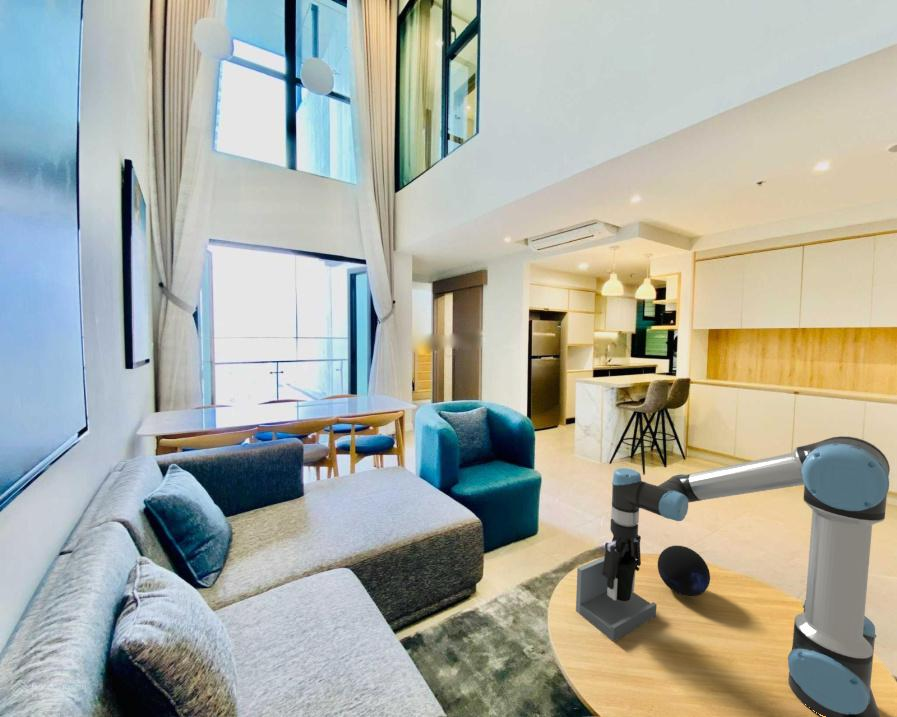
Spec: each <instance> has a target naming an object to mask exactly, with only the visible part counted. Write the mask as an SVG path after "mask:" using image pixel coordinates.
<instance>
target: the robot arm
mask: <svg viewBox="0 0 897 717" xmlns="http://www.w3.org/2000/svg"><path fill="white" fill-rule="evenodd" d="M889 476H890V464H889V461H888V459H887V456H886V454H884V453H883V452H882V450H880V448H878V447H877V446H875V444H872V443H870V442H868V441H867V440H864V439H862V438H859V437H858V438H857V437H852V436H843V435H842V436H841V435H840V436H833V437H829V438H825V439H823V440H819V441H817V442H813V443H809V444H806V445H802V446H797V447H795V449H794V450H793V452H791V453H790V452H789V453H786V454H785V453H784V454H781V455H775V456H771V457H765V458H760V459H757V460H756V459H755V460H750V461H747V462H742V463H741V462H740V463H737V464H732V465H727V466H722V467H716V468H712V469H709V470H708V469H707V470H702V471H698V472H692V473H689V474H683V473H679V474H677V475H673V476H671V477H670V478H669V479H667V480H665V481H664V482H662V483H660V484H659V485H656V484H652V483H648V482H646V481H643V480H642V475H641V473H640V472H639V471H638V470H635V469H632V468H626V467H625V468H622V467H620V468H617V469H615V470H614V472H613V476H612V482H611V484H612V492H611V493H612V494H611V497H612V498H611V512H610V513H611V514H610V517H611V519H610V532H611V534H612V536H613V537H612V540H611V542H610V543H609V542H605V544H604V545H605V546H604V547H605V551H604V557H605V558H604V565H603V571H602V575H604V576H605V577H607V595H608V596H609V597H610V598H612V599H613V600H616V599H617V580H618V579H617V578H616V575H617V571H618V563H620V561H621V558H622V557H624V554H625V556H626V557H627V558H629V559H631V560H632V559H633V556H634V557H635V559H636V567H635V571H637V572H639V571H640V566H641V565H642V563H641V562H642V561H641V538H642V537H641V535H639V518H640V517H639V516H640V510H641V509H642V510H645V511H647V512H650V513H652V514H655V515H658V516H661V517H663V518H665V519H668V520H673V521H676V522H681V521H683V520H685V518H686V516H687V515H688V514H687V513H688V511H689V503H694V502H701V501H706V500H711V499H712V500H713V499H719V498H725V497H726V498H727V497H732V496H740V495H745V494H753V493H759V492H765V491H766V492H767V491H772V490H778V489H784V488H791V487H792V488H793V487H799V486H804V487H803V502H804V503H805V504H806V505H807V506H808V507H809V508H810V509H811V510H812V511H811V524H810V537H809V538H810V539H809V551H808V564H807V565H808V567H807V578H806V589H805V591H806V592H805V599H804V604H803V605H802V608H803V612H801V613H799V614H796V616H795V617H794V623H793V624H794V625H793V633H792V635H793V636H792V646H791V650H790V652H789V653H788V656H787V666H788V667H787V668H788V678H787V679H788V680H787V681H788V685H789V687H790V689H791V692H793V694H794V695H795V696H796V698H799V699H800V700H801V701H802V702H803V703H804V704H803V703H802V702H801V701H800V700H799V699H798V700H799V701H800V702H801V703H802V704H803V705H805V704H806V705H807V706H808V707H810V708H811V709H812V710H814V711H815V712H817V713H819V714H821V715H823V716H826V717H881V716H880V711H879V708H878V705H877V702H876V700H875V697H874V693H873V691H872V687H871V684H872V683H871V682H872V672H873V661H874V650H875V642H876V640H875V639H876V638H877V634H876V626H875V625H874V623H873V621H872V620H871V619H870V618H868V617H867V616H866V614H865V613H866V612H865V611H866V602H867V600H866V599H867V592H868V581H869V580H868V579H869V567H870V558H871V557H870V555H871V554H870V553H871V544H872V534H873V533H872V532H873V525H876V524H877V523H881V522H884V521H885V518H886V509H887V508H886V507H887V498H888V493H889V489H890V478H889ZM616 550H617V551H619V552H621V553H619V552H617V551H616ZM635 579H636V572H635V573H634V579H633V585H632V592H634V591H635ZM806 705H805V706H806ZM807 706H806V707H807ZM808 707H807V708H808ZM811 709H810V710H811ZM812 710H811V711H812ZM815 712H814V713H815Z"/></svg>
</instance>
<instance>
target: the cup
mask: <svg viewBox="0 0 897 717" xmlns="http://www.w3.org/2000/svg"><path fill="white" fill-rule="evenodd" d="M616 551H617V550H616ZM617 552H619V551H617ZM619 553H621V552H619ZM636 560H637V559H635V557H634V556H633V559H632V560H631V559H629V558H627V557H626V556H625V554H624V557H622V558H621V561H620V563H618V571H617V575H616V578H617V579H618V580H617V600H620V601H628V600H630V597H631V591H632V585H633V579H634V573H635V574H636V570H635V567H636Z"/></svg>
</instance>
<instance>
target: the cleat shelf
mask: <svg viewBox="0 0 897 717" xmlns="http://www.w3.org/2000/svg"><path fill="white" fill-rule="evenodd" d="M604 558H605V556H603V557H600V558H598V559H596V560H593V561H591V562H589V563H588V562H587V563H586V564H583V565H581V566H579V567H577V574H576V594H575V596H576V599H575V601H576V602H575V611H576V612H577V613H578V614H579V615H580V616H582V618H584V619H585V620H587V621H588V622H589V623H590V624H591V625H592V626H594V627H595V628H596V629H597V630H599V632H601V633H602V634H603V635H604V636H606V637H607V638H609V640H611V641H612V642H615V641H617V640H619V639H620V638H622V637H624V636H625V635H627V634H628V633H631V632H632V631H634V630H636V629H637V628H640V627H641V626H642V624H643V625H644V624H646V623H648V622H649V621H651V620H653V619H655V618H656V617H657V603H655V602H654V601H653V602H649V601H648V600H646V599H644V598H643V597H642V596H640V595H639V594H637V593H635V592H634V591H633V592H632V591H631V597H630V600H628V601H620V600H617V599H616V600H613V599H612V598H610V597H609V596H608V595H607V577H605V576H604V575H602V571H603V565H604ZM647 621H648V622H647ZM645 622H646V623H645ZM640 625H641V626H640Z"/></svg>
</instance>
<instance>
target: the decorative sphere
mask: <svg viewBox="0 0 897 717" xmlns="http://www.w3.org/2000/svg"><path fill="white" fill-rule="evenodd" d="M657 570H658V574H659V576H660V579H661V580H662V582H664V584H665V585H666V586H667V587H668V589H670V590H671V591H673V592H674V593H676V594H678V595H681V596H684V597H697V596H700V595H702V594H703V593H704V592H705V591H707V589H708V587H709V586H710V583H711V574H710V570H709V567H708V564H707V563H706V561H705V559H703V557H702V556H701V555H700V554H699V553H697V552H696V551H695V550H693V549H692V548H690V547H687V546H683V545H672V546H668V547H666V548H664V549H663V550H662V551H661V553H660V554H659V556H658V559H657Z"/></svg>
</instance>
